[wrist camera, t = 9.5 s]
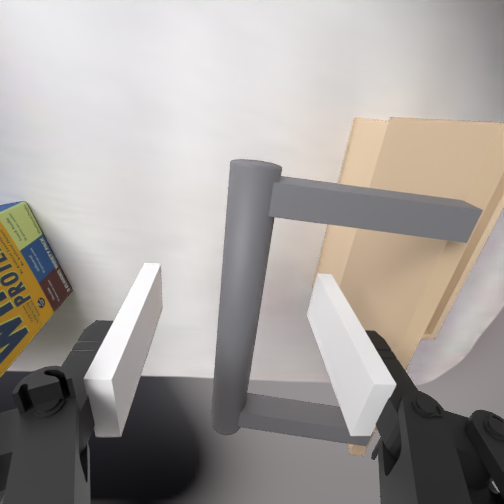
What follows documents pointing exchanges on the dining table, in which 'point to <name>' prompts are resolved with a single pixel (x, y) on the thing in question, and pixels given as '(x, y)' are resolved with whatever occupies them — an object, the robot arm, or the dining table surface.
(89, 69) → the dining table surface
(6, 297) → the protein box
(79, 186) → the dining table surface
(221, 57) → the dining table surface
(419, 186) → the flap
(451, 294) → the carton
